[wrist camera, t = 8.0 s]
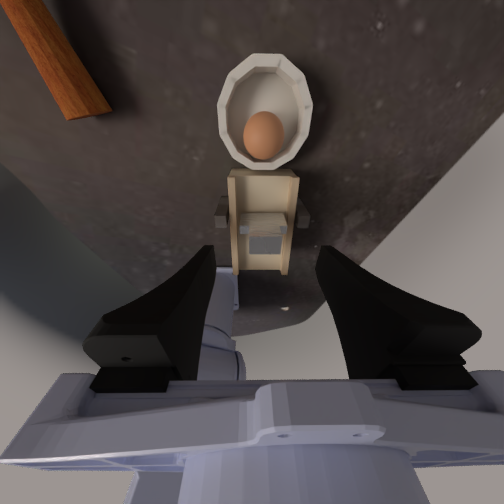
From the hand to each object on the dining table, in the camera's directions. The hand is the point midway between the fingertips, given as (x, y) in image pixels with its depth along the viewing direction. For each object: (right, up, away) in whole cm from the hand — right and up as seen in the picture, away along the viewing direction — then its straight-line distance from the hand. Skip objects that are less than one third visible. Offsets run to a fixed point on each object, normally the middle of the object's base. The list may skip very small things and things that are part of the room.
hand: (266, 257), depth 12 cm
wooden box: (0, +5, +9) cm, 10 cm away
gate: (0, +4, +5) cm, 6 cm away
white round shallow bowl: (0, +12, +4) cm, 13 cm away
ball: (0, +10, +3) cm, 10 cm away
